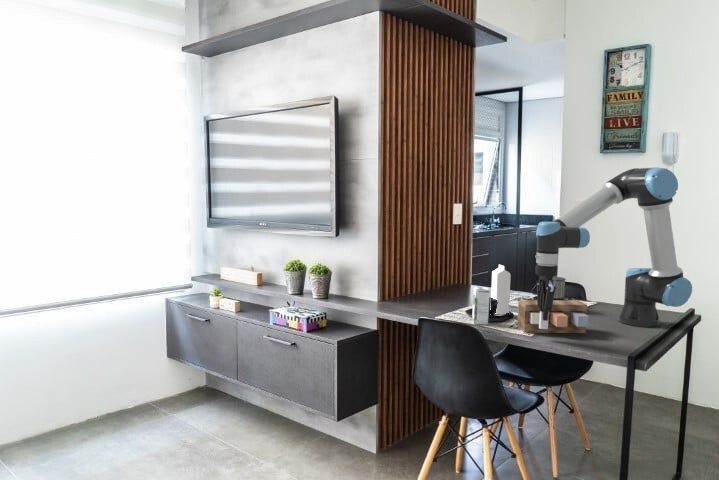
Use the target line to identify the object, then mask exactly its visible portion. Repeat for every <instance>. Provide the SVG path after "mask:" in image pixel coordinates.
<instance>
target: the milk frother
mask: <svg viewBox="0 0 719 480" xmlns="http://www.w3.org/2000/svg"><path fill="white" fill-rule="evenodd" d="M566 280H567V279H566V278H565V277H563V276H553V286H555V287H556V290H555V292H554V298H553V300H565V291H566V288H565V286H566ZM526 300H535V298H534V299H533V298H527V299H526Z"/></svg>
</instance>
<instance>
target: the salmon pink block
mask: <svg viewBox="0 0 719 480" xmlns="http://www.w3.org/2000/svg"><path fill="white" fill-rule="evenodd" d="M549 322H550V323H552V324H553V325H555V326H556V327H567V322H568V316H567V315H565V314H563V313H561V312H560V311H550V315H549Z"/></svg>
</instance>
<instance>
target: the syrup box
mask: <svg viewBox="0 0 719 480" xmlns="http://www.w3.org/2000/svg"><path fill="white" fill-rule="evenodd" d="M490 296H491V289H489V288H488V287H486V286H474V287H473V299H472V314H471V321H472V323H473V324H474V325H488V324H489V315H490V314H489V311H490Z"/></svg>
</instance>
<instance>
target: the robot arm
mask: <svg viewBox="0 0 719 480" xmlns="http://www.w3.org/2000/svg"><path fill="white" fill-rule="evenodd" d="M678 188H679V182H678V178H677V176H676V174H675V173H674V172H672V171H671V170H670V169H668V168H665V167H658V166H657V167H640V168H638V167H637V168H636V167H635V168H631V169H630V168H629V169H628V170H626V171H623V172H621V173H619V174H618V175H615V176H614V177H613V178H611V179H609V180H608V181H606V182H605V183H603V185H602V188H600V189H599V190H597V191H596V192H595V193H593V194H592V195H590V196H588V198H586V199H584V200H583V201H581V202H580V203H578V204H577V205H576V206H574V207H573V208H571V209H569V210H568V211H566V212H565V213H563V214H561V216H559V217H557V218H556V219H554V220H553V221H540V222H539V223H538V226H537V229H536V230H535V235H536V254H535V259H536V260H535V262H536V265H535V271H534V272H535V275H536V276H539V277H538V280H536V281H535V284H536V300H537V304H538V305H537V306H538V307H539V310H540V318H539V328H540V329H548V315H549V311H552V305H553V298H554V292H555V290H556V287H555V286H553V276H556V277H558V269H559V268H558V264H559V256H560V255H559V250H560V249H579V248H581V249H582V248H586V247H587V246H588V245H589V243H590V237H591V234H590V231H589V230H588V229H587V228H586V227H581V226H583V225H585V224H587V222H589V221H591V220H592V219H594V218H595V217H597V216H598V215H599V214H601V213H602V212H604V211H605V210H607V209H609V207H611V206H613V205H614V204H615V205H616V204H617V205H618V204H621V203H622V202H623V201H627V200H629V199H637V204H638V207H639V208H641V209H642V210H643V214H644V215H643V217H644V222H645V228H646V235H647V242H648V249H649V257H650V263H651V267H631V268H628V269H627V270H626V274H625V283H624V301H623V304H622V307H621V310H620V311H619V314H618V322H619V323H620V324H621V323H622V324H625V325H629V326H634V327H639V328H640V327H641V328H655V327H659V326H660V317H659V314H658V311H657V306H656V305H657V304H656V303H658V304H660V305H661V304H662V305H664V306H667V307H675V308H677V307H681V306H684V305H685V304H686V303H687V302H688V301H689V299H690V298H691V296H692V293H693V285H692V282H691V281H690V280H689V279H688V278H686V277H684V271H683V269H682V268H681V267H679V266H678V262H677V256H676V255H677V254H676V248H675V247H676V246H675V241H674V232H673V227H672V219H671V212H670V205H671V204H672V203H673V201H674V200H673V198H674V197H675V196H676V194H677V191H678V190H679V189H678Z"/></svg>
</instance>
